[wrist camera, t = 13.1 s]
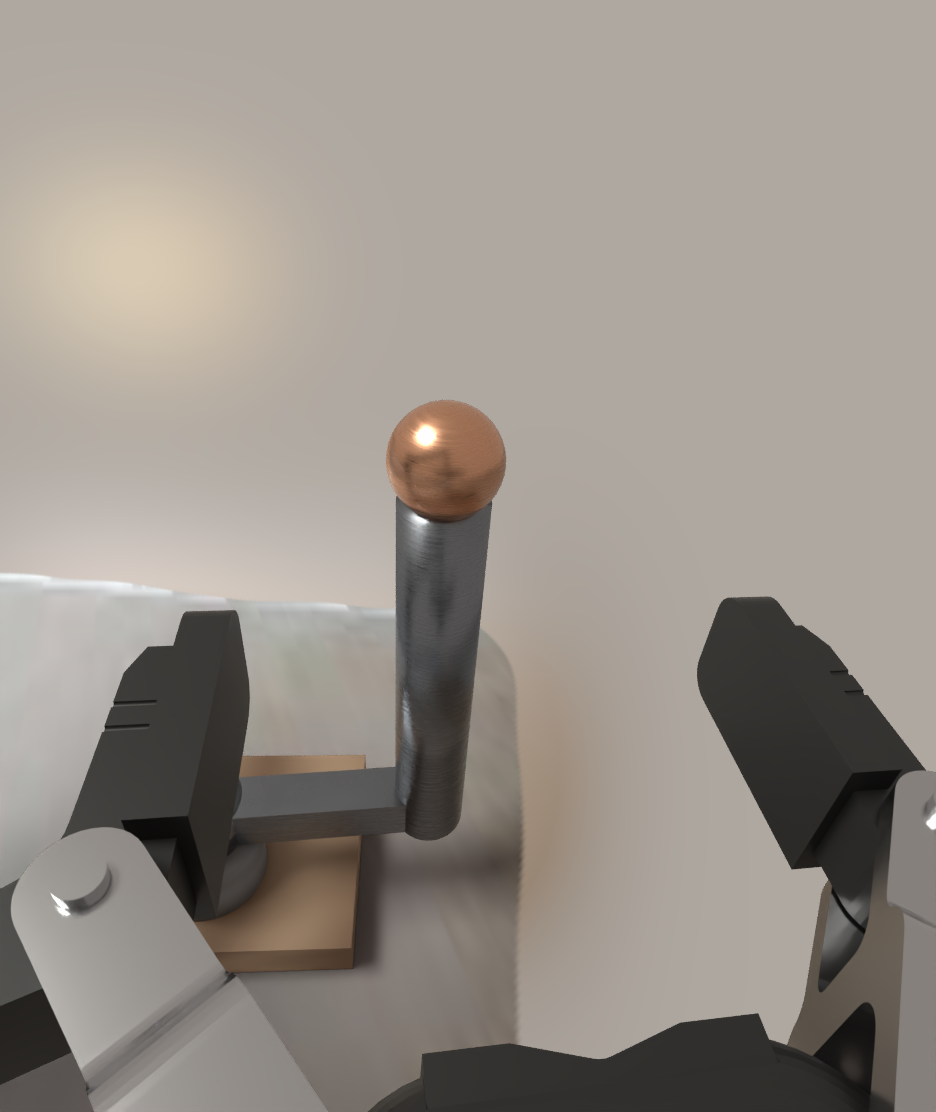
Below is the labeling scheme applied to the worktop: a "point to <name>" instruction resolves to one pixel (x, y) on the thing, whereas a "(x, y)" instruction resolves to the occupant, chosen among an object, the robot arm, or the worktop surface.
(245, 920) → the cracker base
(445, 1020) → the worktop surface
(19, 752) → the worktop surface
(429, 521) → the lever
